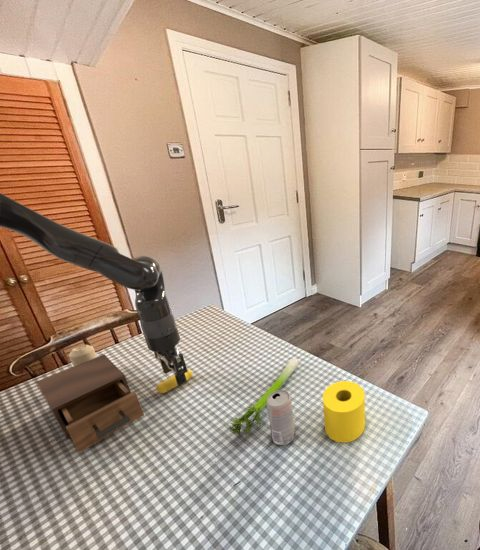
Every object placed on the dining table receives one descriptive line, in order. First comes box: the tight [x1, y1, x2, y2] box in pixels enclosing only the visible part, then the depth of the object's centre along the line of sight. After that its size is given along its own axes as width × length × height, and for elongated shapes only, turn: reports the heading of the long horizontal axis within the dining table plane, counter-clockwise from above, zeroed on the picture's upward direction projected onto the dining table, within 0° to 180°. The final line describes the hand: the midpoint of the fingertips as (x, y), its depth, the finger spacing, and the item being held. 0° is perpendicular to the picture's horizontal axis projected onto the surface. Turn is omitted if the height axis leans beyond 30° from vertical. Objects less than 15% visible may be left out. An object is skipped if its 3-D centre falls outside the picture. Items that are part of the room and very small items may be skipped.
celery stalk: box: [229, 358, 301, 437], centre depth 83 cm, size 6×7×30 cm
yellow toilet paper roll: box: [322, 380, 366, 443], centre depth 74 cm, size 10×10×9 cm
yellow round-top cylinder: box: [156, 368, 194, 394], centre depth 88 cm, size 10×3×3 cm, turn 144°
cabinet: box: [36, 354, 132, 439], centre depth 80 cm, size 16×14×9 cm
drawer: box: [60, 381, 145, 453], centre depth 74 cm, size 19×13×7 cm
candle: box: [68, 344, 98, 367], centre depth 91 cm, size 6×6×10 cm
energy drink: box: [266, 389, 296, 446], centre depth 70 cm, size 5×5×12 cm
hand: (175, 377), depth 87 cm, fingers open, 8 cm apart
